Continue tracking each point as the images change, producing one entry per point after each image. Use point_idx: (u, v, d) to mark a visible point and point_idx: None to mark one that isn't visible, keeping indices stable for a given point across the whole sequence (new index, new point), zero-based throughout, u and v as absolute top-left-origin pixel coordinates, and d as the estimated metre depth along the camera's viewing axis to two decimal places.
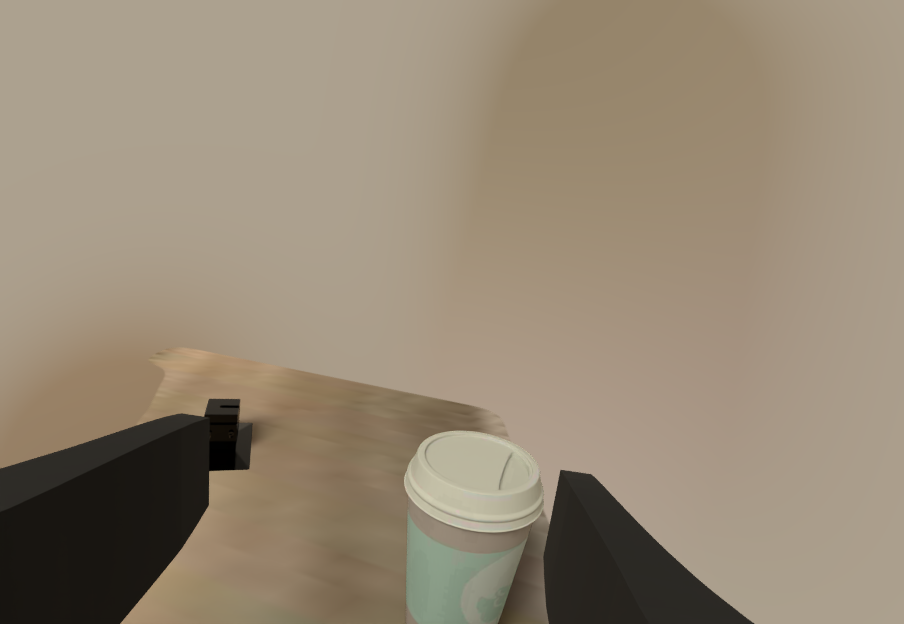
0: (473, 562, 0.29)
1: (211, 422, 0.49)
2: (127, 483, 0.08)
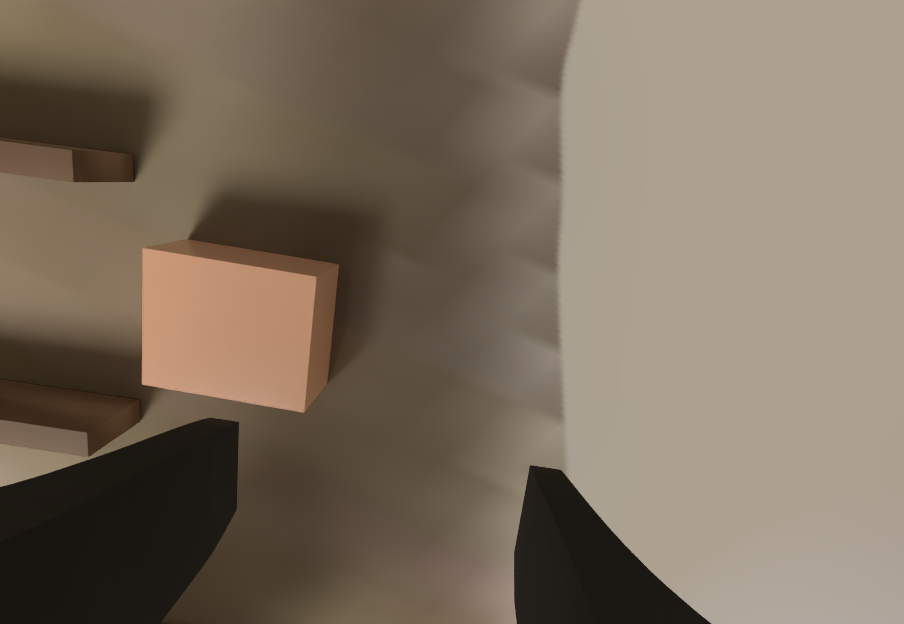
0: None
1: None
2: (164, 489, 0.08)
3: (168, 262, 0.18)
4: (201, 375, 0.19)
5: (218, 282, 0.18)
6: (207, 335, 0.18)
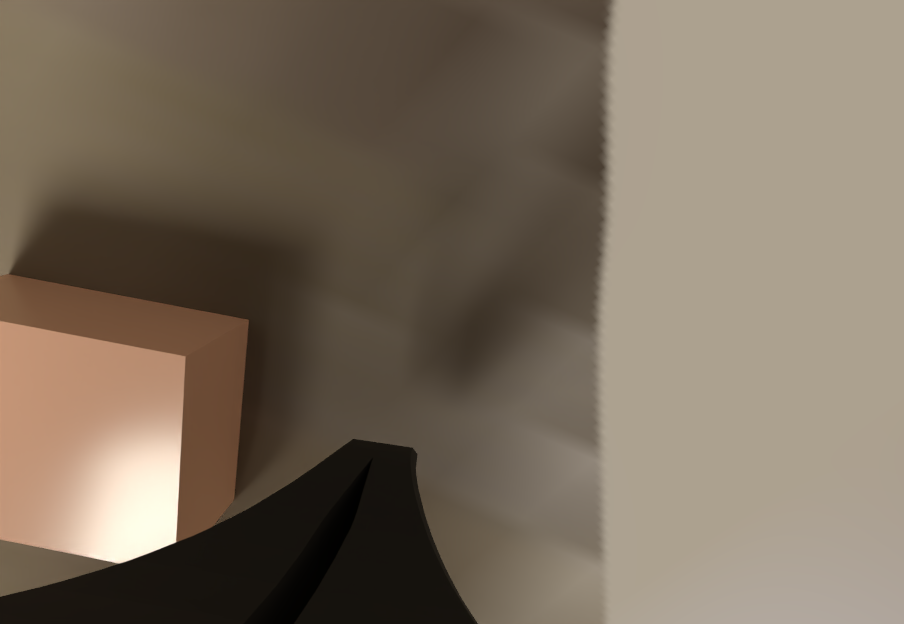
0: None
1: None
2: (345, 517, 0.08)
3: None
4: (1, 510, 0.11)
5: (17, 361, 0.10)
6: (5, 446, 0.11)
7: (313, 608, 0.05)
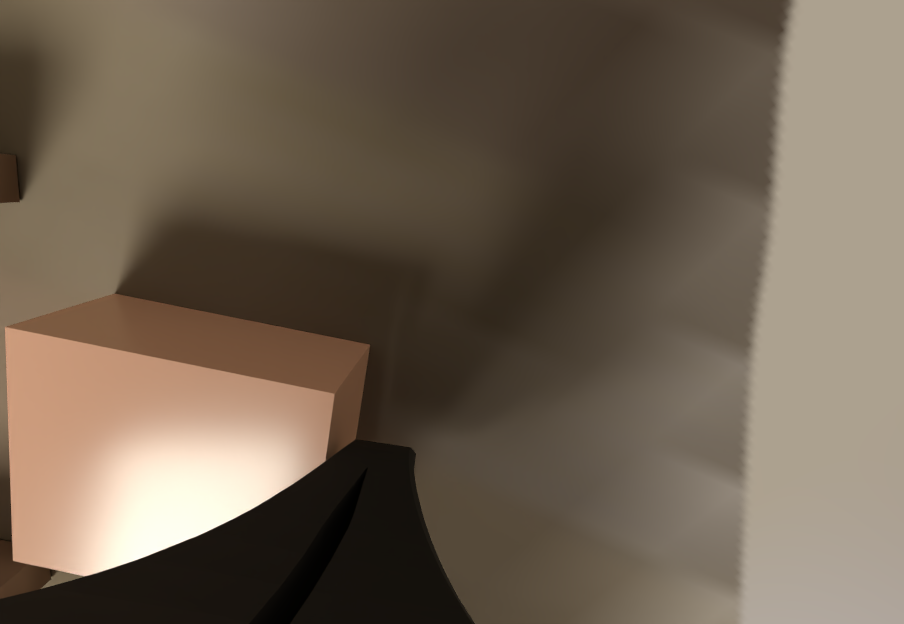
0: None
1: None
2: (348, 517, 0.08)
3: (54, 355, 0.09)
4: (118, 552, 0.10)
5: (148, 395, 0.10)
6: (127, 485, 0.10)
7: (310, 607, 0.05)
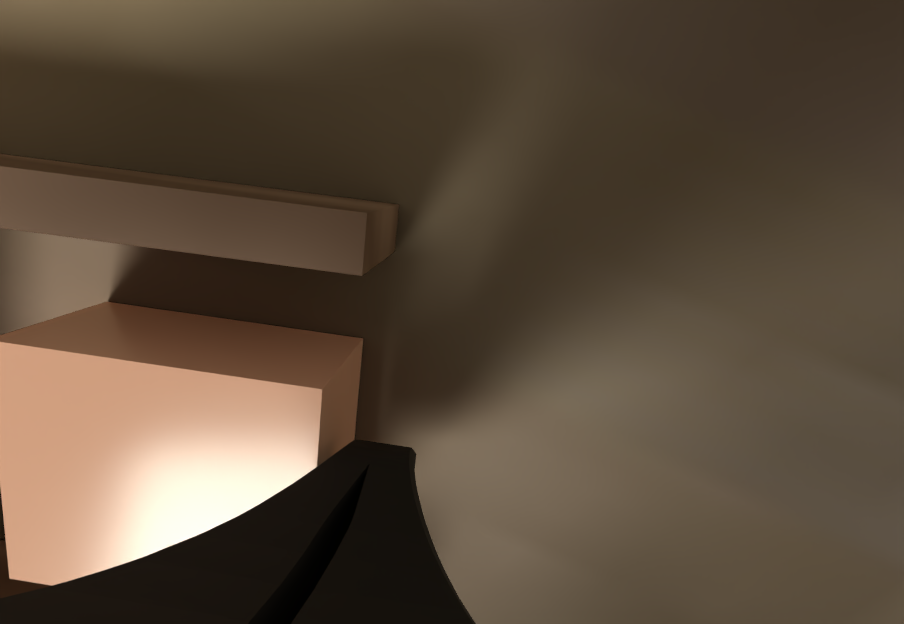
0: None
1: None
2: (347, 517, 0.08)
3: (36, 366, 0.09)
4: (115, 564, 0.10)
5: (134, 402, 0.09)
6: (119, 495, 0.10)
7: (310, 607, 0.05)
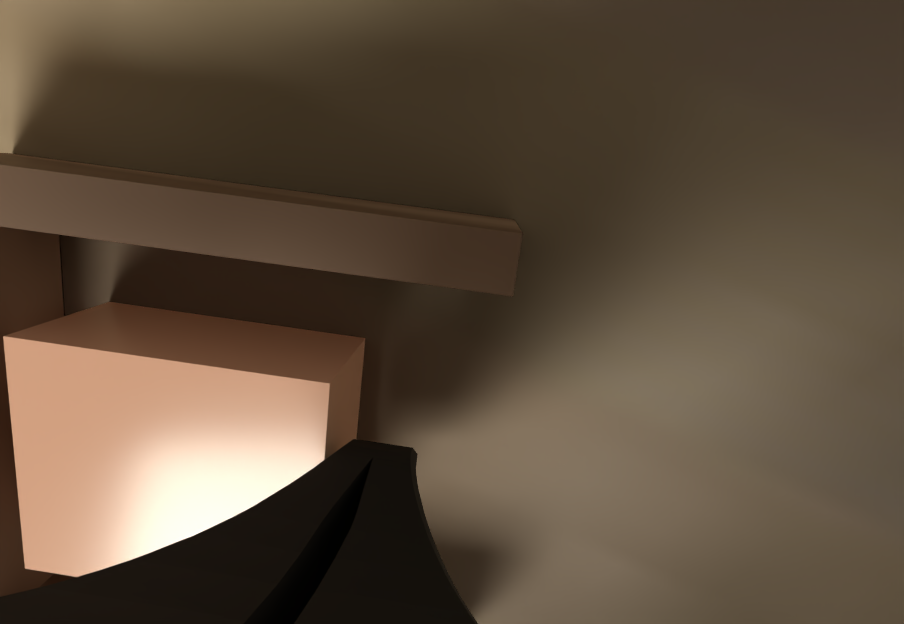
0: None
1: None
2: (345, 517, 0.08)
3: (52, 361, 0.10)
4: (128, 554, 0.10)
5: (147, 396, 0.10)
6: (133, 487, 0.10)
7: (313, 608, 0.05)
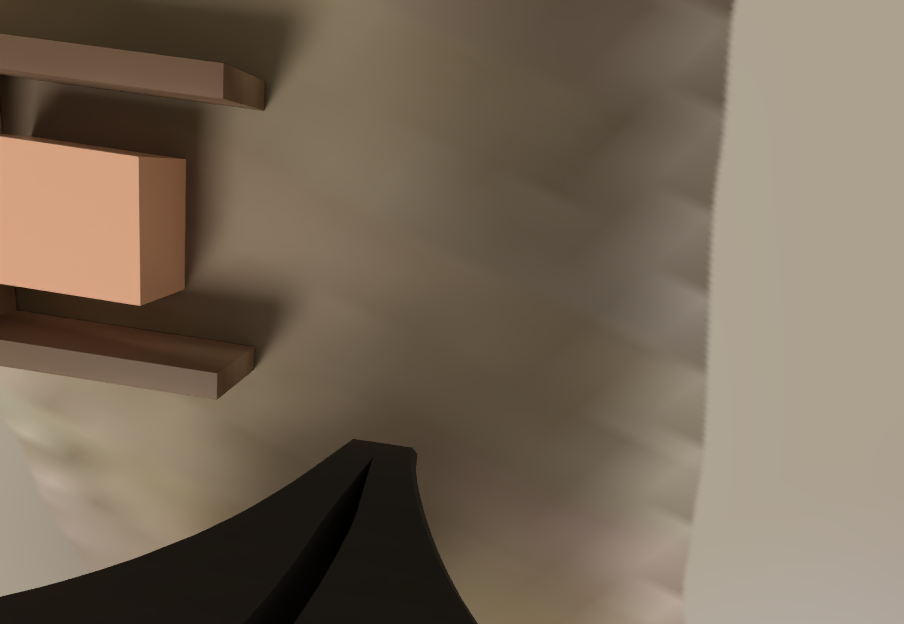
0: None
1: None
2: (345, 517, 0.08)
3: None
4: (33, 268, 0.18)
5: (40, 166, 0.17)
6: (34, 224, 0.18)
7: (313, 608, 0.05)
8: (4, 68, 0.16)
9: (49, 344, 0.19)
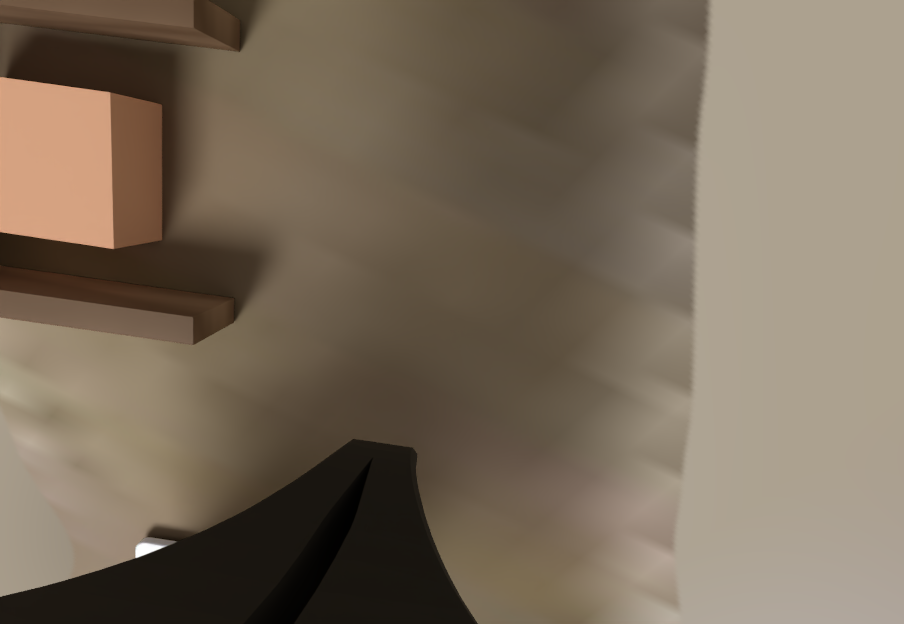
0: None
1: None
2: (345, 517, 0.08)
3: None
4: (4, 210, 0.18)
5: (10, 103, 0.17)
6: (4, 164, 0.17)
7: (313, 608, 0.05)
8: None
9: (22, 291, 0.18)
